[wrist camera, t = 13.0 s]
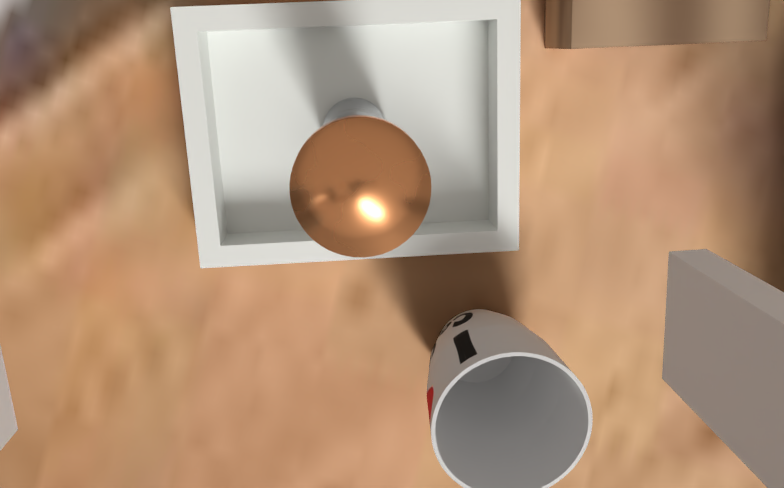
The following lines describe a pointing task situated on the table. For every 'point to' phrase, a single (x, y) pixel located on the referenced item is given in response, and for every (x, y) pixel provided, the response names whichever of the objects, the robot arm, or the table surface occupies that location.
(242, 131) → the tray
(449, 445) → the cup
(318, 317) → the table surface
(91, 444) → the table surface
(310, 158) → the pin
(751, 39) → the socket block
